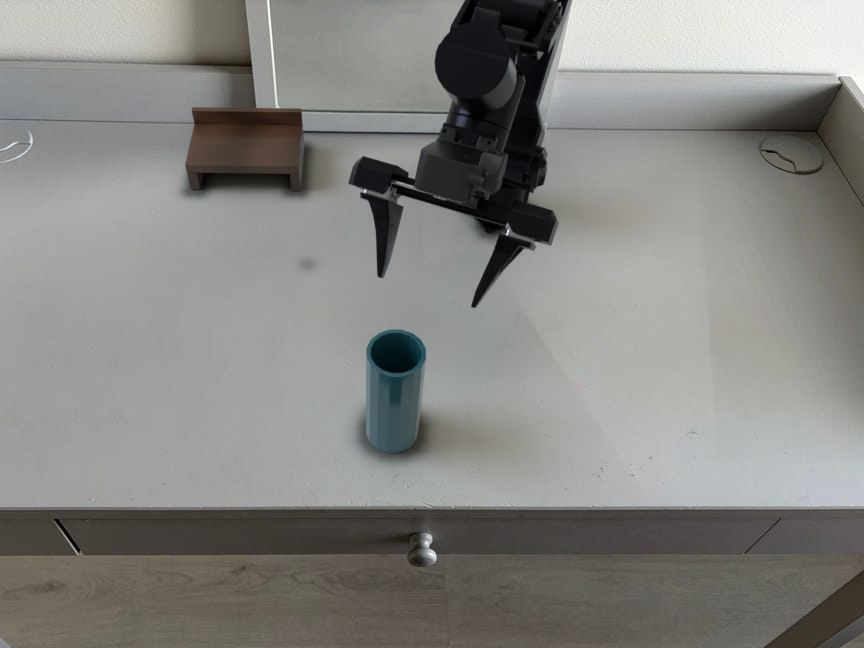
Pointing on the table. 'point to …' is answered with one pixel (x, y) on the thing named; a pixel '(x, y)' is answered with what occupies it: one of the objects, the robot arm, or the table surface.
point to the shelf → (246, 143)
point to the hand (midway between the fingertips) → (426, 292)
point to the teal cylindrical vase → (394, 389)
